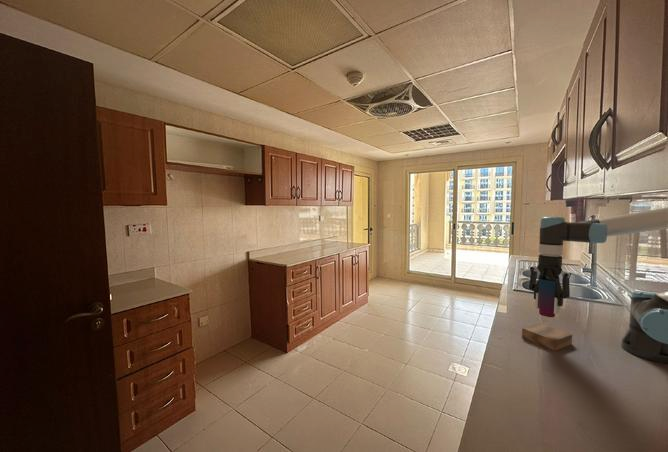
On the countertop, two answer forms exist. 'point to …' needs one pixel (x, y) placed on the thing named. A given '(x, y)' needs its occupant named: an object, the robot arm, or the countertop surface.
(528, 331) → the base block
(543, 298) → the cup
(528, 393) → the countertop surface
